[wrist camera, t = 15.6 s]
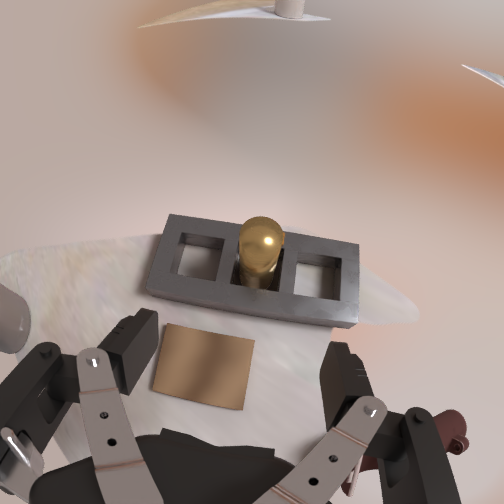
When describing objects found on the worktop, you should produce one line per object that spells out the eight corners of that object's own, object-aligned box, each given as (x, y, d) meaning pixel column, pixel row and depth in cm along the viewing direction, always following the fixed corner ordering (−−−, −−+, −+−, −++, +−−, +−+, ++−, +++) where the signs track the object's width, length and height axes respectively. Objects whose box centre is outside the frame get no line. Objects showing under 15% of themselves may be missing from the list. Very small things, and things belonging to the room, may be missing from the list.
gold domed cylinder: (236, 288, 34) (235, 250, 25) (243, 258, 36) (244, 213, 27) (269, 294, 34) (280, 258, 25) (274, 264, 36) (285, 220, 27)
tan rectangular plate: (154, 390, 28) (152, 390, 27) (169, 324, 32) (167, 322, 31) (242, 409, 28) (242, 410, 27) (254, 341, 32) (254, 340, 31)
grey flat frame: (152, 296, 33) (144, 286, 30) (174, 226, 38) (169, 212, 35) (348, 328, 32) (359, 322, 30) (351, 255, 37) (360, 243, 34)
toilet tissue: (302, 20, 83) (305, -1, 74) (272, 16, 84) (273, -5, 75) (303, 15, 88) (305, -5, 79) (274, 11, 89) (276, -8, 80)
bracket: (320, 435, 24) (375, 484, 15) (429, 398, 29) (485, 418, 19) (314, 476, 24) (360, 527, 14) (420, 435, 28) (471, 459, 19)
